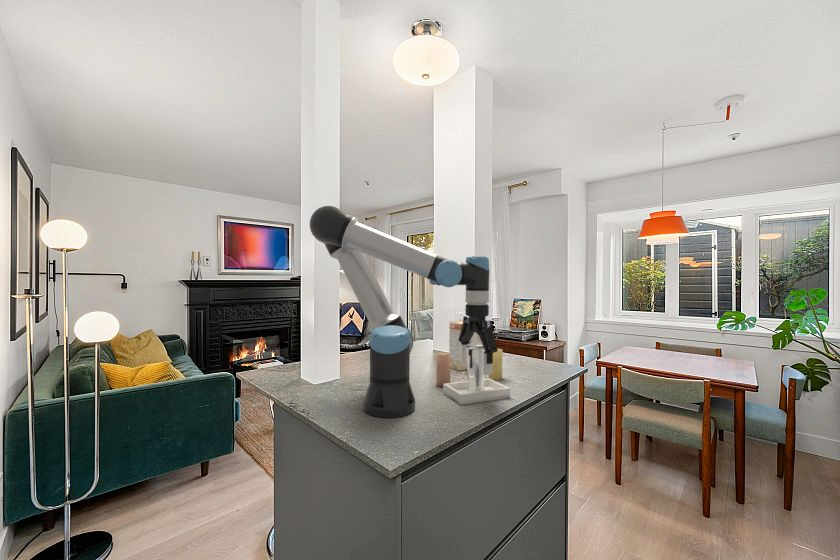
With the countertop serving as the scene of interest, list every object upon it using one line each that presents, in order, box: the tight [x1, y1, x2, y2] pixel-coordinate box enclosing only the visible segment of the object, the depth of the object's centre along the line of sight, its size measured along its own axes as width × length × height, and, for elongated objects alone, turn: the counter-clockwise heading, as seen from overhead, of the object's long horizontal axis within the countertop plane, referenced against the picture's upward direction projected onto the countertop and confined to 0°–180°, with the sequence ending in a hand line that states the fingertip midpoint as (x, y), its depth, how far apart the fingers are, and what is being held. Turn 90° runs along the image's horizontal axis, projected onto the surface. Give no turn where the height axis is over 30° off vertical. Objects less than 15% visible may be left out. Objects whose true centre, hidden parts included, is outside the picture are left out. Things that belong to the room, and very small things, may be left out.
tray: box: [442, 377, 511, 405], centre depth 122 cm, size 18×12×3 cm, turn 113°
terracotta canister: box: [435, 351, 451, 388], centre depth 133 cm, size 5×5×11 cm
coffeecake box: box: [448, 320, 484, 371], centre depth 159 cm, size 15×7×20 cm, turn 130°
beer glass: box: [466, 345, 487, 393], centre depth 121 cm, size 7×7×15 cm
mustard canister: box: [488, 348, 504, 381], centre depth 141 cm, size 5×5×11 cm
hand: (476, 368), depth 121 cm, fingers open, 13 cm apart
